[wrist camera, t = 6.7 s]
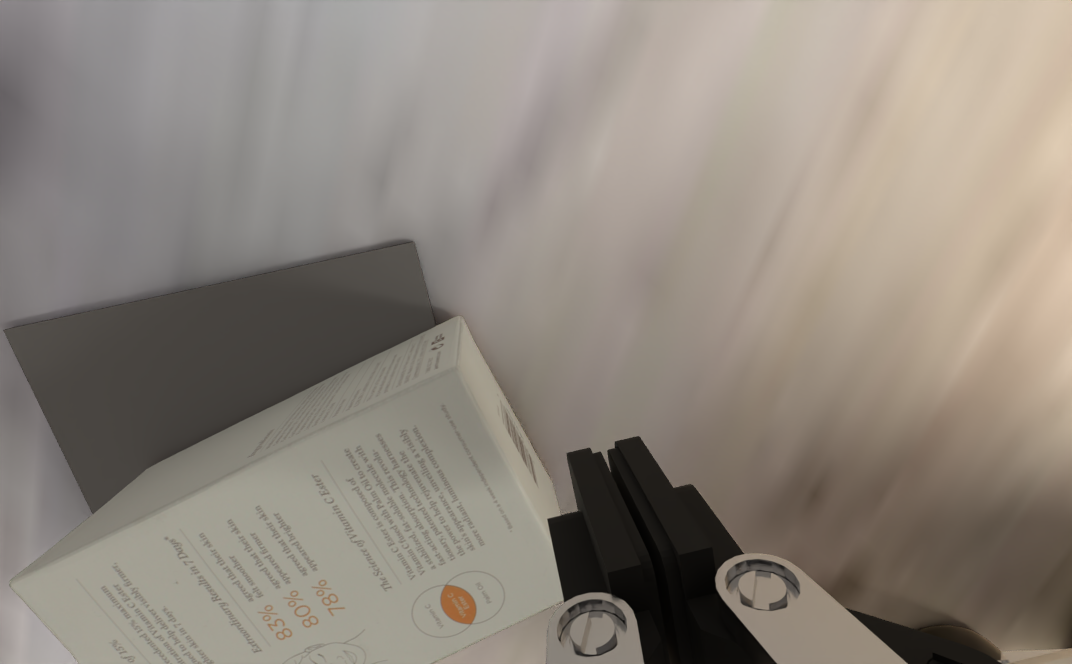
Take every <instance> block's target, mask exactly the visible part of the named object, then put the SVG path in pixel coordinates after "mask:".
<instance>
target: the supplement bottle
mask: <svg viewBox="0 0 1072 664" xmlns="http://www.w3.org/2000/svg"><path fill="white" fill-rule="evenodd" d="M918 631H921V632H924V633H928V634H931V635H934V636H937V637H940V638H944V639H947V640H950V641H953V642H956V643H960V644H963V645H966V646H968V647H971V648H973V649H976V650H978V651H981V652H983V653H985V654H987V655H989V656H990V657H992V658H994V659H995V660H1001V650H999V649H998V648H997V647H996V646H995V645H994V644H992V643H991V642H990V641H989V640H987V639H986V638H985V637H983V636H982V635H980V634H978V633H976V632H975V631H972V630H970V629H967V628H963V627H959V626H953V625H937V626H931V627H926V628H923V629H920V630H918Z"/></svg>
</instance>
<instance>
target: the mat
mask: <svg viewBox="0 0 1072 664" xmlns="http://www.w3.org/2000/svg"><path fill="white" fill-rule="evenodd" d="M435 326H436V323H435V319H434V315H433V311H432V308H431V304H430V300H429V296H428V292H427V289H426V285H425V281H424V277H423V273H422V269H421V266H420V262H419V258H418V254H417V250H416V247H415V243H414V242H409V243H405V244H400V245H395V246H391V247H386V248H382V249H377V250H372V251H368V252H363V253H358V254H354V255H349V256H344V257H340V258H335V259H330V260H326V261H321V262H316V263H312V264H307V265H302V266H298V267H293V268H288V269H284V270H279V271H274V272H270V273H265V274H261V275H256V276H251V277H247V278H242V279H237V280H233V281H228V282H223V283H219V284H214V285H209V286H205V287H200V288H195V289H191V290H186V291H181V292H177V293H172V294H167V295H163V296H158V297H153V298H149V299H144V300H140V301H135V302H130V303H126V304H121V305H116V306H112V307H107V308H102V309H98V310H93V311H88V312H84V313H79V314H74V315H70V316H65V317H60V318H56V319H51V320H46V321H42V322H37V323H33V324H28V325H23V326H19V327H14V328H10V329H6V330H3V331H4V333H5V335H6V337H7V339H8V341H9V343H10V345H11V347H12V349H13V351H14V353H15V355H16V357H17V359H18V361H19V363H20V365H21V368H22V370H23V372H24V374H25V376H26V378H27V380H28V382H29V384H30V386H31V388H32V390H33V392H34V394H35V396H36V398H37V400H38V402H39V405H40V407H41V409H42V411H43V413H44V415H45V417H46V419H47V421H48V423H49V425H50V427H51V429H52V431H53V433H54V435H55V437H56V439H57V442H58V444H59V446H60V448H61V450H62V452H63V454H64V456H65V458H66V460H67V462H68V464H69V466H70V468H71V470H72V472H73V474H74V476H75V479H76V481H77V483H78V485H79V487H80V489H81V491H82V493H83V495H84V497H85V499H86V501H87V503H88V505H89V507H90V509H91V511H92V513H93V514H94V513H95V512H96V511H98V510H99V509H100V508H101V507H102V506H104V505H105V504H106V503H107V502H108V501H110V500H111V499H112V498H113V497H114V496H116V495H117V494H118V493H119V492H120V491H121V490H123V489H124V488H125V487H126V486H127V485H129V484H130V483H131V482H132V481H133V480H135V479H136V478H137V477H138V476H139V475H141V474H142V473H143V472H144V471H145V470H146V469H148V468H150V467H151V466H153V465H155V464H157V463H159V462H161V461H163V460H165V459H167V458H169V457H171V456H173V455H175V454H177V453H178V452H180V451H183V450H185V449H187V448H189V447H191V446H193V445H195V444H197V443H199V442H201V441H203V440H205V439H207V438H209V437H211V436H213V435H215V434H217V433H219V432H221V431H223V430H225V429H227V428H229V427H231V426H233V425H235V424H237V423H239V422H241V421H243V420H245V419H247V418H249V417H251V416H253V415H255V414H257V413H259V412H261V411H263V410H265V409H267V408H269V407H272V406H274V405H276V404H278V403H280V402H282V401H284V400H286V399H288V398H290V397H292V396H294V395H296V394H298V393H300V392H302V391H304V390H306V389H308V388H310V387H312V386H314V385H316V384H318V383H320V382H322V381H324V380H326V379H328V378H330V377H332V376H334V375H336V374H338V373H340V372H342V371H344V370H346V369H348V368H350V367H352V366H354V365H356V364H358V363H360V362H362V361H365V360H367V359H369V358H371V357H373V356H375V355H377V354H379V353H381V352H384V351H386V350H388V349H390V348H392V347H394V346H396V345H398V344H400V343H402V342H404V341H406V340H408V339H410V338H413V337H415V336H417V335H419V334H421V333H423V332H425V331H427V330H429V329H431V328H433V327H435Z"/></svg>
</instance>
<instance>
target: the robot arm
mask: <svg viewBox="0 0 1072 664" xmlns="http://www.w3.org/2000/svg"><path fill="white" fill-rule="evenodd" d="M607 452H608V459H609V464H610V470H611V472H610V470H609V468H608V466H607V464H606V462H605V460H604V457H603V455H602V453H601V452H597V453H592V451H591V449H590V448H586V449H582V450H578V451H573V452H569V453H567V460H568V465H569V469H570V474H571V479H572V484H573V489H574V493H575V498H576V503H577V508H578V511H577V512H573V513H569V514H565V515H561V516H556V517H552V518H548V519H547V521H548V526H549V531H550V536H551V540H552V545H553V550H554V555H555V560H556V565H557V569H558V574H559V579H560V584H561V589H562V594H563V598H564V604H562V605H561V606H560V607H559V608H558V609H557V610H556V611H555V613H554V614H553V616H552V618H551V619H550V622H549V626H548V631H547V657H546V664H1072V648H1069V649H1048V650H1021V651H1001V660H995V659H994V658H992V657H990V656H989V655H987V654H985V653H983V652H981V651H978V650H976V649H973V648H971V647H968V646H966V645H963V644H960V643H956V642H953V641H950V640H947V639H944V638H940V637H937V636H934V635H931V634H928V633H924V632H921V631H918V630H915V629H911V628H908V627H905V626H902V625H899V624H895V623H892V622H889V621H886V620H882V619H879V618H876V617H873V616H870V615H866V614H863V613H860V612H857V611H854V610H850V609H847V608H844V607H843V606H842V605H841V604H839V603H838V602H837V601H836V600H835V599H834V598H833V597H832V596H830V595H829V594H828V593H827V592H826V591H825V590H824V589H822V588H821V587H820V586H819V585H818V584H817V583H816V582H815V581H813V580H812V579H811V578H810V577H809V576H808V575H807V574H805V573H804V572H803V571H802V570H801V569H800V568H798V567H797V566H795V565H794V564H793V563H791V562H790V561H788V560H785V559H783V558H780V557H778V556H775V555H769V554H764V553H747V554H744V553H743V552H742V551H741V549H740V548H739V547H738V545H737V544H736V542H735V541H734V540H733V538H732V537H731V536H730V534H729V533H728V532H727V530H726V529H725V528H724V526H723V525H722V523H721V522H720V521H719V519H718V518H717V517H716V515H715V514H714V513H713V511H712V510H711V509H710V507H709V506H708V504H707V503H706V502H705V500H704V499H703V498H702V496H701V495H700V494H699V492H698V491H697V490H696V488H695V487H694V486H693V485H691V484H689V485H685V486H680V487H676V488H673V487H672V485H671V483H670V482H669V480H668V479H667V477H666V476H665V474H664V473H663V471H662V470H661V468H660V467H659V465H658V464H657V462H656V461H655V459H654V458H653V456H652V455H651V453H650V452H649V450H648V449H647V447H646V446H645V444H644V443H643V441H642V440H641V438H640V437H639V436H637V437H633V438H628V439H624V440H620V441H616V442H615V448H614V449H610V450H608V451H607Z"/></svg>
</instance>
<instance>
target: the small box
mask: <svg viewBox="0 0 1072 664" xmlns="http://www.w3.org/2000/svg"><path fill="white" fill-rule="evenodd" d="M556 516H561V513H560V509H559V505H558V501H557V497H556V494H555V490H554V486H553V483H552V481H551V479H550V477H549V475H548V474H547V472H546V471H545V469H544V467H543V465H542V463H541V462H540V460H539V458H538V456H537V454H536V452H535V451H534V449H533V447H532V445H531V443H530V442H529V440H528V438H527V436H526V434H525V432H524V431H523V429H522V427H521V425H520V423H519V421H518V420H517V418H516V416H515V414H514V412H513V410H512V409H511V407H510V405H509V403H508V401H507V400H506V398H505V396H504V394H503V392H502V391H501V389H500V387H499V385H498V383H497V382H496V380H495V378H494V376H493V374H492V372H491V371H490V369H489V367H488V365H487V364H486V362H485V360H484V358H483V356H482V355H481V353H480V351H479V349H478V347H477V345H476V344H475V342H474V340H473V338H472V336H471V333H470V331H469V329H468V327H467V325H466V323H465V320H464V318H463V317H462V316H456V317H454V318H451V319H449V320H447V321H445V322H443V323H441V324H439V325H437V326H435V327H433V328H431V329H429V330H427V331H425V332H423V333H421V334H419V335H417V336H415V337H413V338H410V339H408V340H406V341H404V342H402V343H400V344H398V345H396V346H394V347H392V348H390V349H388V350H386V351H384V352H381V353H379V354H377V355H375V356H373V357H371V358H369V359H367V360H365V361H362V362H360V363H358V364H356V365H354V366H352V367H350V368H348V369H346V370H344V371H342V372H340V373H338V374H336V375H334V376H332V377H330V378H328V379H326V380H324V381H322V382H320V383H318V384H316V385H314V386H312V387H310V388H308V389H306V390H304V391H302V392H300V393H298V394H296V395H294V396H292V397H290V398H288V399H286V400H284V401H282V402H280V403H278V404H276V405H274V406H272V407H269V408H267V409H265V410H263V411H261V412H259V413H257V414H255V415H253V416H251V417H249V418H247V419H245V420H243V421H241V422H239V423H237V424H235V425H233V426H231V427H229V428H227V429H225V430H223V431H221V432H219V433H217V434H215V435H213V436H211V437H209V438H207V439H205V440H203V441H201V442H199V443H197V444H195V445H193V446H191V447H189V448H187V449H185V450H183V451H180V452H178V453H177V454H175V455H173V456H171V457H169V458H167V459H165V460H163V461H161V462H159V463H157V464H155V465H153V466H151V467H150V468H148V469H146V470H145V471H144V472H143V473H142V474H141V475H139V476H138V477H137V478H136V479H135V480H133V481H132V482H131V483H130V484H129V485H127V486H126V487H125V488H124V489H123V490H121V491H120V492H119V493H118V494H117V495H116V496H114V497H113V498H112V499H111V500H110V501H108V502H107V503H106V504H105V505H104V506H102V507H101V508H100V509H99V510H98V511H96V512H95V513H94V514H93V515H91V516H90V517H89V518H88V519H86V520H85V521H84V522H83V523H81V524H80V525H79V526H78V527H77V528H75V529H74V530H73V531H72V532H70V533H69V534H68V535H67V536H65V537H64V538H63V539H62V540H60V541H59V542H58V543H57V544H56V545H54V546H53V547H52V548H51V549H49V550H48V551H47V552H46V553H44V554H43V555H42V556H41V557H39V558H38V559H37V560H36V561H34V562H33V563H32V564H30V565H29V566H28V567H27V568H25V569H24V570H23V571H21V572H20V573H19V574H18V575H16V576H15V577H14V578H12V579H11V580H10V584H9V586H10V587H11V588H12V590H13V591H14V592H15V593H16V594H17V595H18V596H19V597H20V598H21V599H22V600H23V601H24V602H25V603H26V604H27V606H28V607H29V608H30V609H31V610H32V611H33V612H34V613H35V614H36V615H37V616H38V618H39V619H40V620H41V621H42V622H43V623H44V625H45V626H46V627H47V628H48V629H49V630H50V631H51V632H52V633H53V634H54V635H55V636H56V638H57V639H58V640H59V641H60V642H61V643H62V644H63V645H64V646H65V647H66V649H67V650H68V651H69V652H70V653H71V654H72V655H73V657H74V658H75V659H76V660H77V662H78V663H79V664H433V663H435V662H437V661H439V660H441V659H443V658H446V657H448V656H450V655H452V654H454V653H456V652H458V651H460V650H462V649H464V648H466V647H468V646H470V645H473V644H475V643H477V642H479V641H481V640H483V639H485V638H487V637H489V636H491V635H493V634H496V633H498V632H500V631H502V630H504V629H506V628H508V627H510V626H512V625H514V624H516V623H518V622H521V621H523V620H525V619H527V618H529V617H531V616H533V615H535V614H537V613H539V612H541V611H543V610H545V609H547V608H550V607H552V606H554V605H556V604H558V603H560V602H562V601H564V598H563V594H562V589H561V584H560V579H559V574H558V569H557V565H556V560H555V555H554V550H553V545H552V540H551V536H550V531H549V526H548V521H547V519H548V518H552V517H556Z"/></svg>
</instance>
